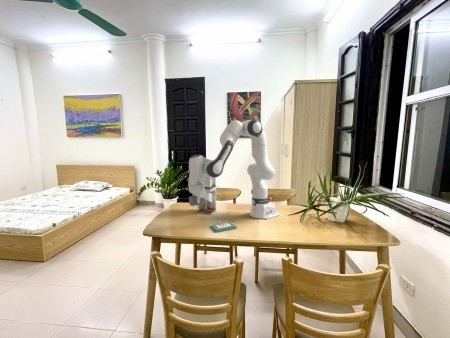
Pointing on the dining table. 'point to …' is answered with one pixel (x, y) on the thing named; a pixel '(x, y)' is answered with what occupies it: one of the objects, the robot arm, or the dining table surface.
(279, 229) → the dining table surface
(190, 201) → the block
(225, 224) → the header pins
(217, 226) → the header board
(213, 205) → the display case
